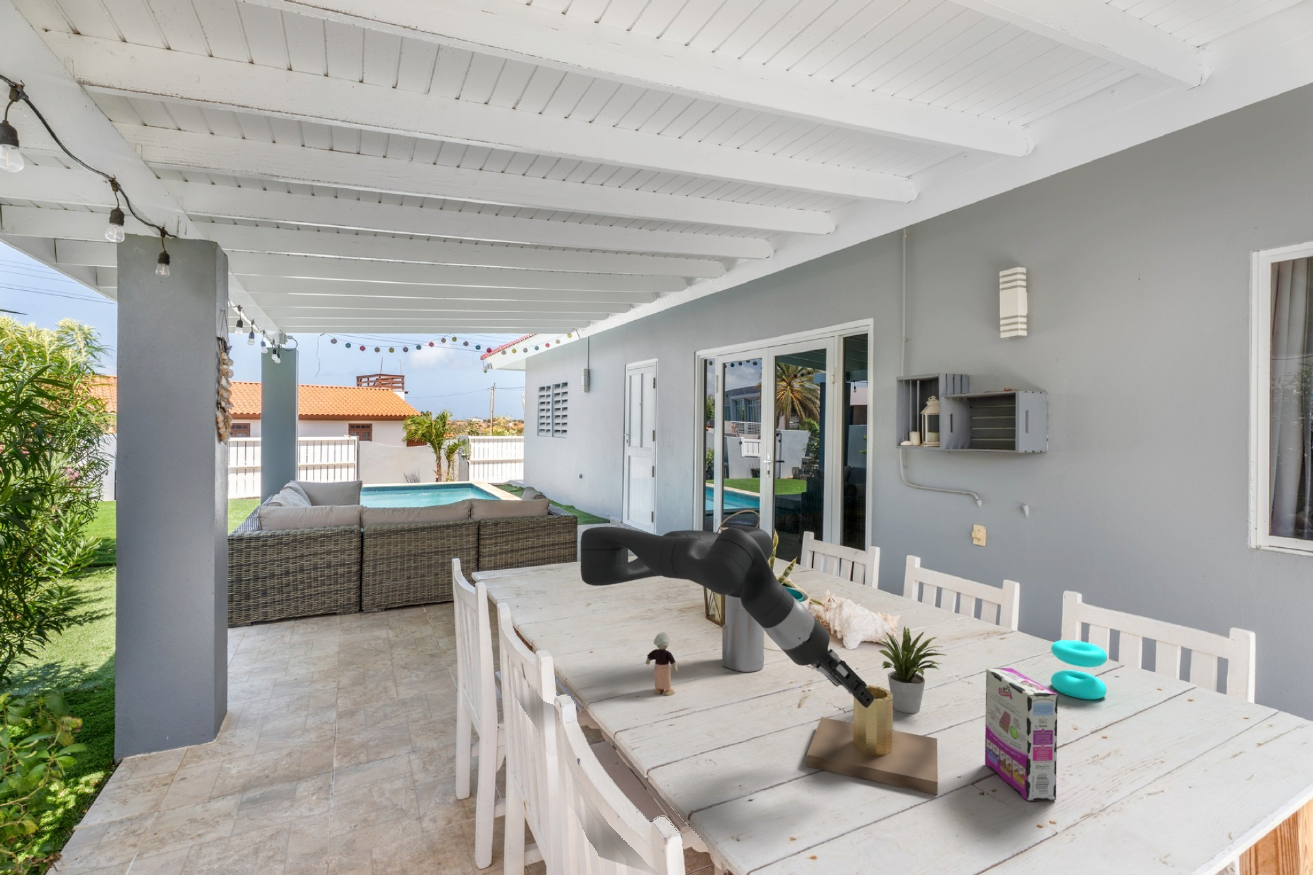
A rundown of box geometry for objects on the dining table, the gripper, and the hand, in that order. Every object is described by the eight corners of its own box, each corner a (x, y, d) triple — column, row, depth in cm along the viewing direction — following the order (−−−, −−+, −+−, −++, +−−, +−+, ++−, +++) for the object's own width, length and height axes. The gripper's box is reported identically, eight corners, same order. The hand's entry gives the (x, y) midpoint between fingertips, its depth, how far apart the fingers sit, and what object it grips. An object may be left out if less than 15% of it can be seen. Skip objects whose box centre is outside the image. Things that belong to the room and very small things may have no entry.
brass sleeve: (851, 750, 106) (852, 696, 106) (855, 734, 112) (856, 683, 112) (891, 758, 104) (891, 703, 104) (893, 741, 109) (893, 689, 109)
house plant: (907, 732, 117) (907, 645, 117) (852, 703, 129) (852, 624, 129) (958, 716, 123) (958, 633, 123) (901, 690, 136) (902, 615, 136)
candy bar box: (1058, 801, 95) (1060, 694, 95) (1027, 802, 95) (1028, 695, 95) (1011, 762, 107) (1012, 666, 106) (983, 763, 106) (984, 667, 106)
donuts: (1110, 645, 136) (1103, 657, 128) (1109, 691, 136) (1102, 706, 128) (1056, 634, 142) (1046, 645, 135) (1056, 678, 142) (1046, 692, 135)
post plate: (806, 766, 105) (807, 711, 105) (821, 727, 119) (821, 679, 119) (937, 794, 97) (938, 735, 97) (937, 749, 111) (937, 697, 110)
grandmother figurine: (681, 690, 135) (681, 632, 135) (676, 697, 132) (676, 637, 131) (647, 685, 138) (648, 628, 138) (641, 692, 134) (642, 633, 134)
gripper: (760, 632, 108) (818, 692, 112) (800, 662, 95) (865, 729, 98) (788, 600, 110) (844, 659, 113) (832, 624, 96) (895, 692, 99)
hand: (854, 692), depth 105 cm, fingers open, 8 cm apart
